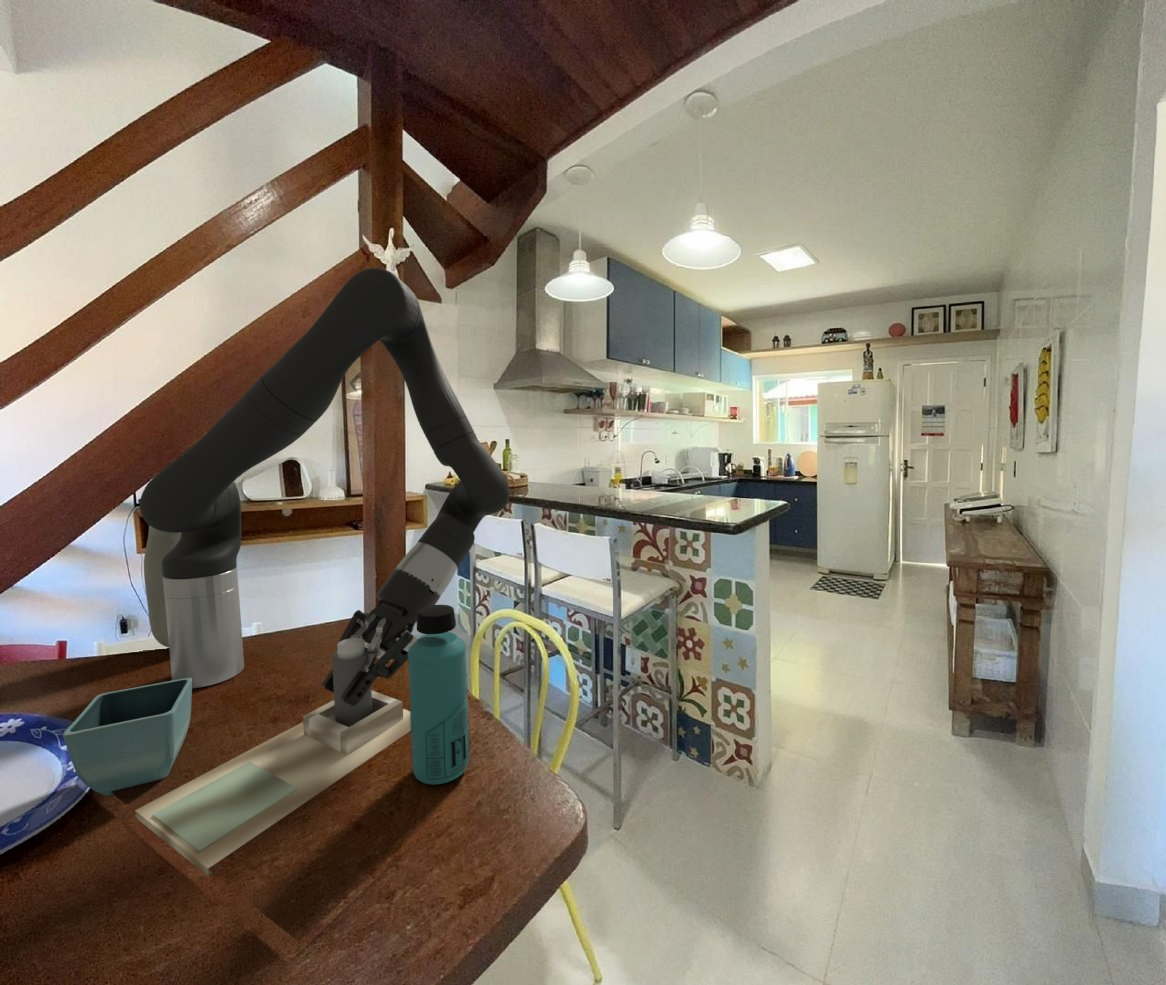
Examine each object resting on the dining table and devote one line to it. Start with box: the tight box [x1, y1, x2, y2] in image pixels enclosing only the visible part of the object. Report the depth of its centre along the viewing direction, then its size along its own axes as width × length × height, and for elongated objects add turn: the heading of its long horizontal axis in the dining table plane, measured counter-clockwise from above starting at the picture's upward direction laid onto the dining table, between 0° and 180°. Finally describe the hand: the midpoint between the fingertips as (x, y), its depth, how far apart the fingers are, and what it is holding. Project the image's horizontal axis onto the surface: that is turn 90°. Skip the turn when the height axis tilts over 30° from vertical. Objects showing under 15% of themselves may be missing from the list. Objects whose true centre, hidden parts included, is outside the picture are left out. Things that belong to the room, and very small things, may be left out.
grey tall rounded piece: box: [143, 525, 181, 648], centre depth 87 cm, size 10×10×28 cm
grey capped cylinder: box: [331, 637, 373, 727], centre depth 63 cm, size 4×4×11 cm
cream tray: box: [134, 690, 411, 877], centre depth 57 cm, size 14×26×3 cm, turn 152°
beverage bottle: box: [408, 604, 471, 785], centre depth 54 cm, size 6×7×20 cm
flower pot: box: [62, 678, 193, 797], centre depth 54 cm, size 9×9×9 cm
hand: (338, 695), depth 61 cm, fingers closed on grey capped cylinder, 4 cm apart
